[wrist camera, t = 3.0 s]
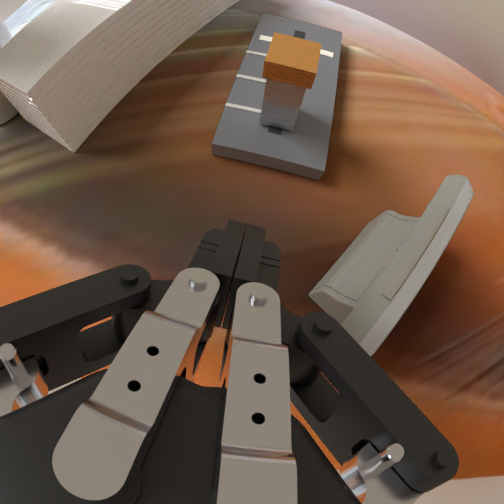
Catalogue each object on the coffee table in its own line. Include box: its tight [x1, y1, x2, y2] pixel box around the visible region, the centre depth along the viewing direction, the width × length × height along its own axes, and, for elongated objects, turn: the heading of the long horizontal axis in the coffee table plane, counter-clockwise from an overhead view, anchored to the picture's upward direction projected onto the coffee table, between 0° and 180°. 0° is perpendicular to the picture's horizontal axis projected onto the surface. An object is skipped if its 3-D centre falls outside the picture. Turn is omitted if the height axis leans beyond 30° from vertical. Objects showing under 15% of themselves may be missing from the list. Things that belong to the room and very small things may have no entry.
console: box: [212, 13, 342, 181], centre depth 30 cm, size 10×21×2 cm, turn 167°
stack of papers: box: [0, 0, 240, 153], centre depth 26 cm, size 32×11×11 cm, turn 148°
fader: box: [259, 32, 322, 131], centre depth 23 cm, size 4×4×8 cm
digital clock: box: [309, 174, 474, 357], centre depth 22 cm, size 16×9×11 cm, turn 125°
